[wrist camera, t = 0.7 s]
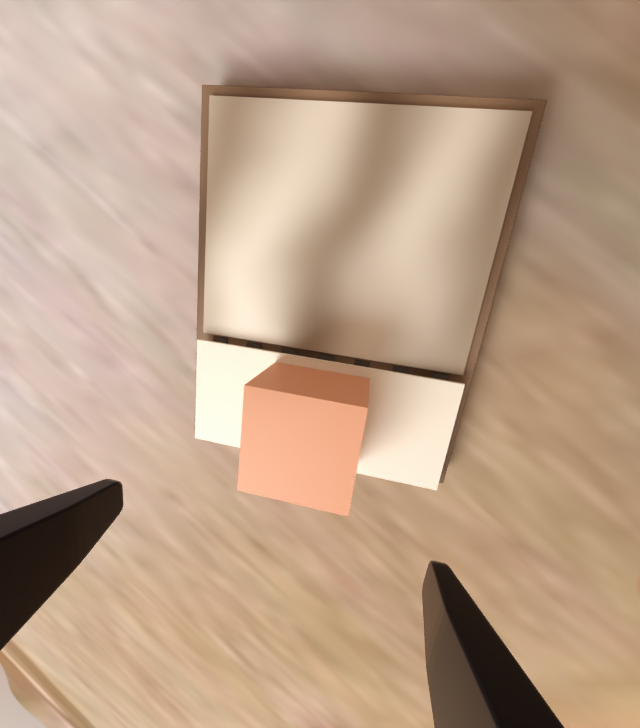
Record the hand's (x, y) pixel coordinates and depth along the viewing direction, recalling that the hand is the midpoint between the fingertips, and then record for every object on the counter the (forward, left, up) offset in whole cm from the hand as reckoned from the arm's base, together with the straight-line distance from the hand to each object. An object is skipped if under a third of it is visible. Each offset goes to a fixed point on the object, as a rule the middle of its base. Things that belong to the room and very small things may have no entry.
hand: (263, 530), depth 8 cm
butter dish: (0, 0, -8) cm, 8 cm away
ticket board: (0, -6, -10) cm, 12 cm away
